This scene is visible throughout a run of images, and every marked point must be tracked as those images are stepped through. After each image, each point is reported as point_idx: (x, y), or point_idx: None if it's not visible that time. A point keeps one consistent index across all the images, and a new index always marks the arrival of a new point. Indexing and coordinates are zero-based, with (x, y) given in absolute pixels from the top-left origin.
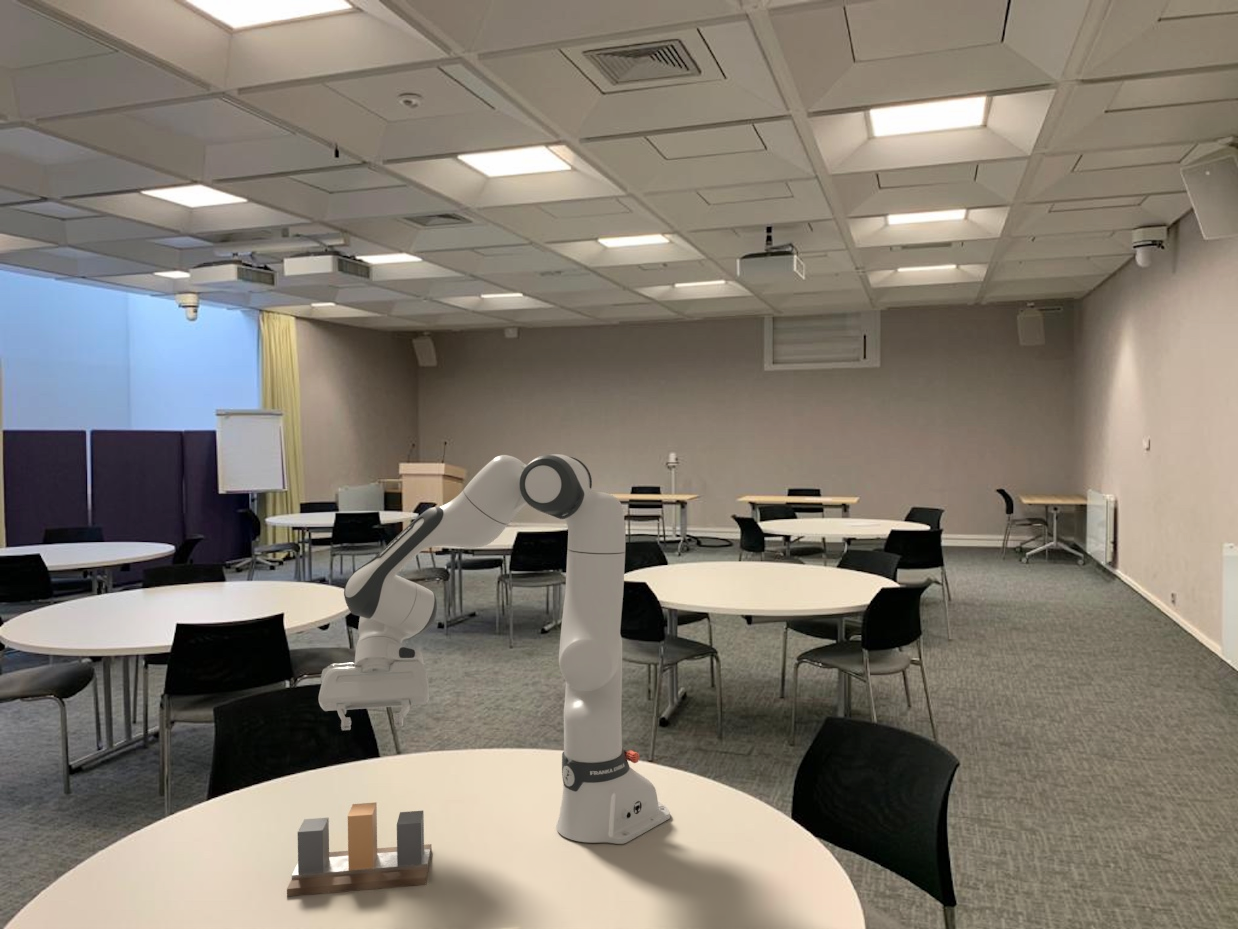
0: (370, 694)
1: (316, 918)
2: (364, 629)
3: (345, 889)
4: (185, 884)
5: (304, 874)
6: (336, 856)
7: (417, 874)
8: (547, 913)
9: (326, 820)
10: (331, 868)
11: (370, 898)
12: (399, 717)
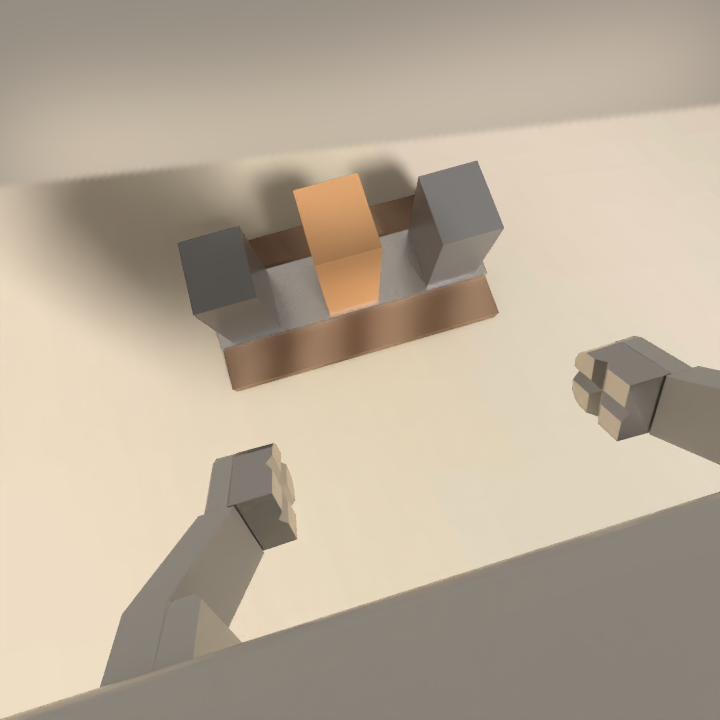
0: (623, 601)
1: (360, 146)
2: None
3: None
4: (670, 214)
5: None
6: (421, 310)
7: None
8: None
9: (438, 227)
10: (398, 246)
11: (295, 210)
12: (229, 480)
